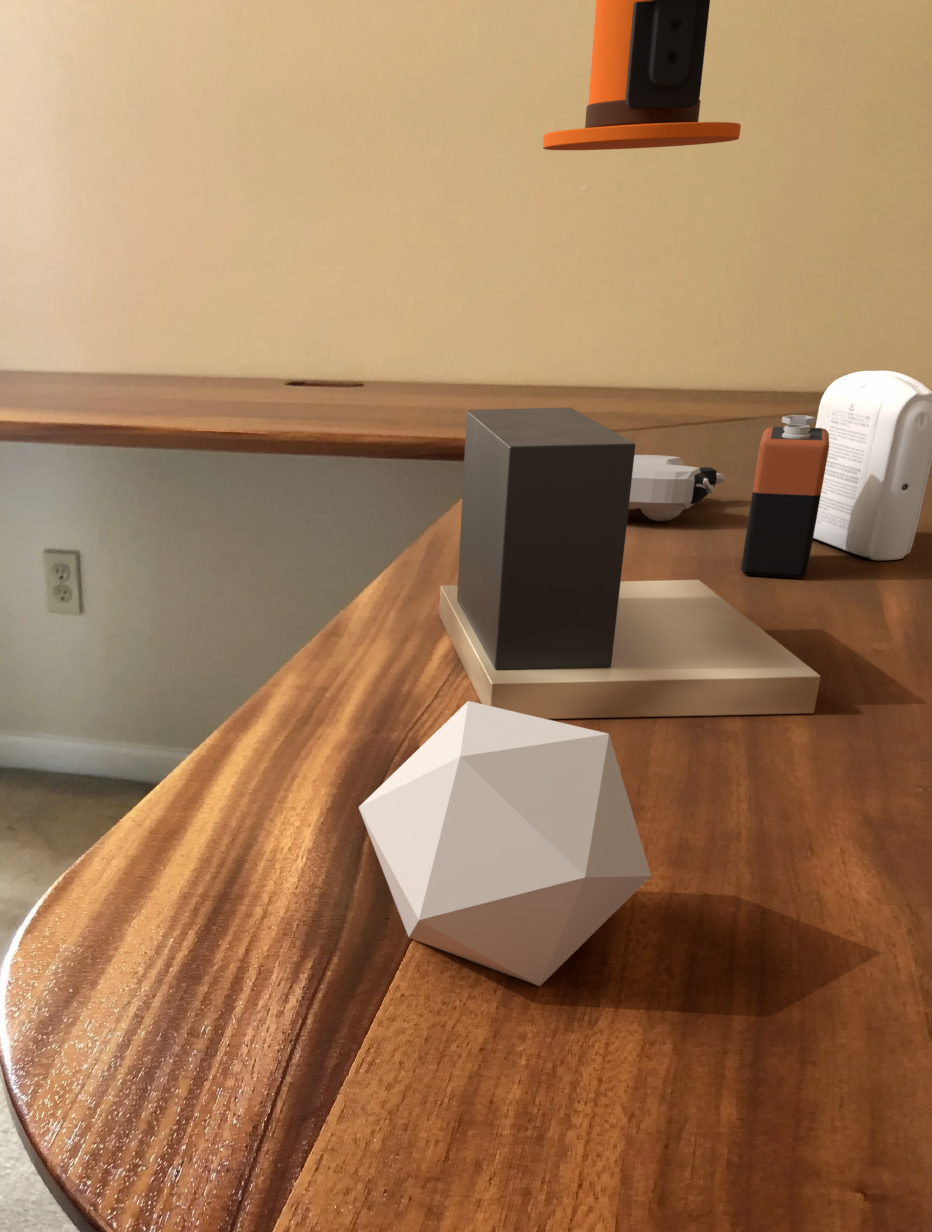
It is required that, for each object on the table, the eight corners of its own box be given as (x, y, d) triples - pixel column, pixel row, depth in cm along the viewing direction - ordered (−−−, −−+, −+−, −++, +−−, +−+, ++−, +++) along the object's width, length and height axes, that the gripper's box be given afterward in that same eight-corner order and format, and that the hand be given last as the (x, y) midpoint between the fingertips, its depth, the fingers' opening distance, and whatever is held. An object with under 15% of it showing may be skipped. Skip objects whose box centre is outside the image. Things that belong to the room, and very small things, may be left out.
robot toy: (589, 501, 120) (547, 519, 108) (595, 450, 118) (552, 462, 106) (726, 510, 115) (698, 530, 103) (734, 457, 113) (707, 470, 101)
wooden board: (694, 610, 83) (699, 579, 82) (814, 713, 66) (821, 675, 65) (438, 616, 83) (440, 585, 82) (488, 720, 66) (491, 682, 65)
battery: (807, 558, 95) (832, 414, 90) (805, 580, 89) (833, 427, 85) (744, 555, 96) (766, 412, 92) (739, 576, 91) (762, 425, 86)
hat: (703, 145, 65) (720, -13, 62) (768, 134, 57) (792, -48, 54) (525, 152, 65) (534, -6, 62) (566, 142, 57) (578, -40, 54)
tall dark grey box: (557, 598, 79) (574, 406, 74) (614, 667, 66) (639, 443, 61) (456, 600, 79) (466, 409, 74) (494, 670, 66) (509, 446, 61)
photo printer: (920, 559, 94) (960, 376, 88) (867, 563, 93) (903, 379, 88) (837, 531, 103) (868, 363, 97) (787, 534, 102) (816, 365, 96)
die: (677, 958, 46) (605, 690, 47) (661, 953, 37) (575, 627, 39) (446, 1011, 48) (385, 757, 50) (382, 1018, 40) (311, 712, 41)
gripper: (876, -522, 45) (791, 94, 53) (713, -333, 60) (668, 123, 68) (660, -514, 45) (609, 100, 53) (552, -327, 60) (526, 128, 68)
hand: (643, 108), depth 61 cm, fingers closed on hat, 5 cm apart
